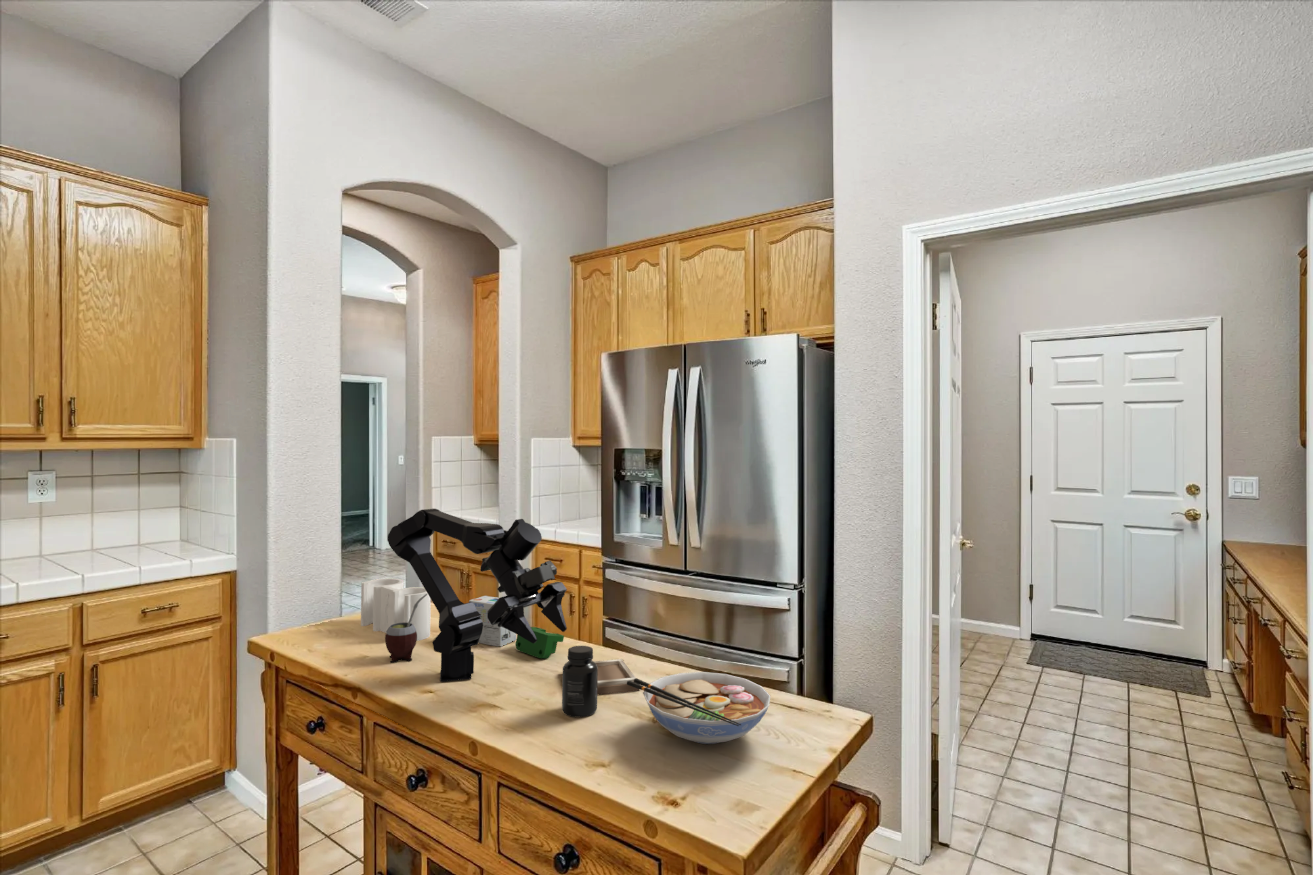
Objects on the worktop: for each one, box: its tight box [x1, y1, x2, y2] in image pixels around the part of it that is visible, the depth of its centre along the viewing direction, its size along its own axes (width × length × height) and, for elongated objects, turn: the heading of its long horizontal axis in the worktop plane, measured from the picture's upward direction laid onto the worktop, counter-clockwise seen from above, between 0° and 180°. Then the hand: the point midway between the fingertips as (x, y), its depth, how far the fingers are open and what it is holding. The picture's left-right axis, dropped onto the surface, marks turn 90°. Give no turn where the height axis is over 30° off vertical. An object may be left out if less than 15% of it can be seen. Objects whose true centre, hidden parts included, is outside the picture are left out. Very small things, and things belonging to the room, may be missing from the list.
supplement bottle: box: [561, 645, 598, 718], centre depth 127 cm, size 7×7×12 cm
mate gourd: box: [384, 594, 427, 664], centre depth 155 cm, size 8×8×15 cm
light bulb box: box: [468, 595, 517, 647], centre depth 169 cm, size 11×7×11 cm, turn 65°
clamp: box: [515, 626, 565, 659], centre depth 161 cm, size 12×6×9 cm, turn 42°
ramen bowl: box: [627, 671, 771, 745], centre depth 117 cm, size 25×23×8 cm
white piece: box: [360, 577, 432, 642], centre depth 178 cm, size 25×10×12 cm, turn 50°
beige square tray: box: [594, 658, 641, 696], centre depth 142 cm, size 14×14×2 cm
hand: (550, 636), depth 131 cm, fingers open, 9 cm apart
